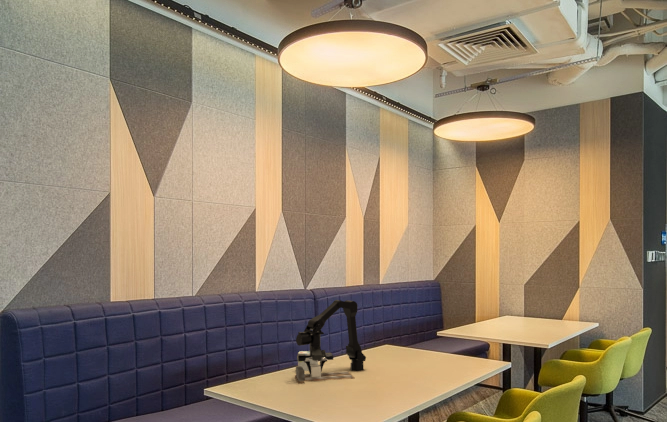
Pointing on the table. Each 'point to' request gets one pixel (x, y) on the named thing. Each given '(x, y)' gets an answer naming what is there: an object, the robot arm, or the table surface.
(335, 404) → the table surface
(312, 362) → the light bulb box
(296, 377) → the track board
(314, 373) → the cream white cube
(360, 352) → the robot arm
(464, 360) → the table surface
